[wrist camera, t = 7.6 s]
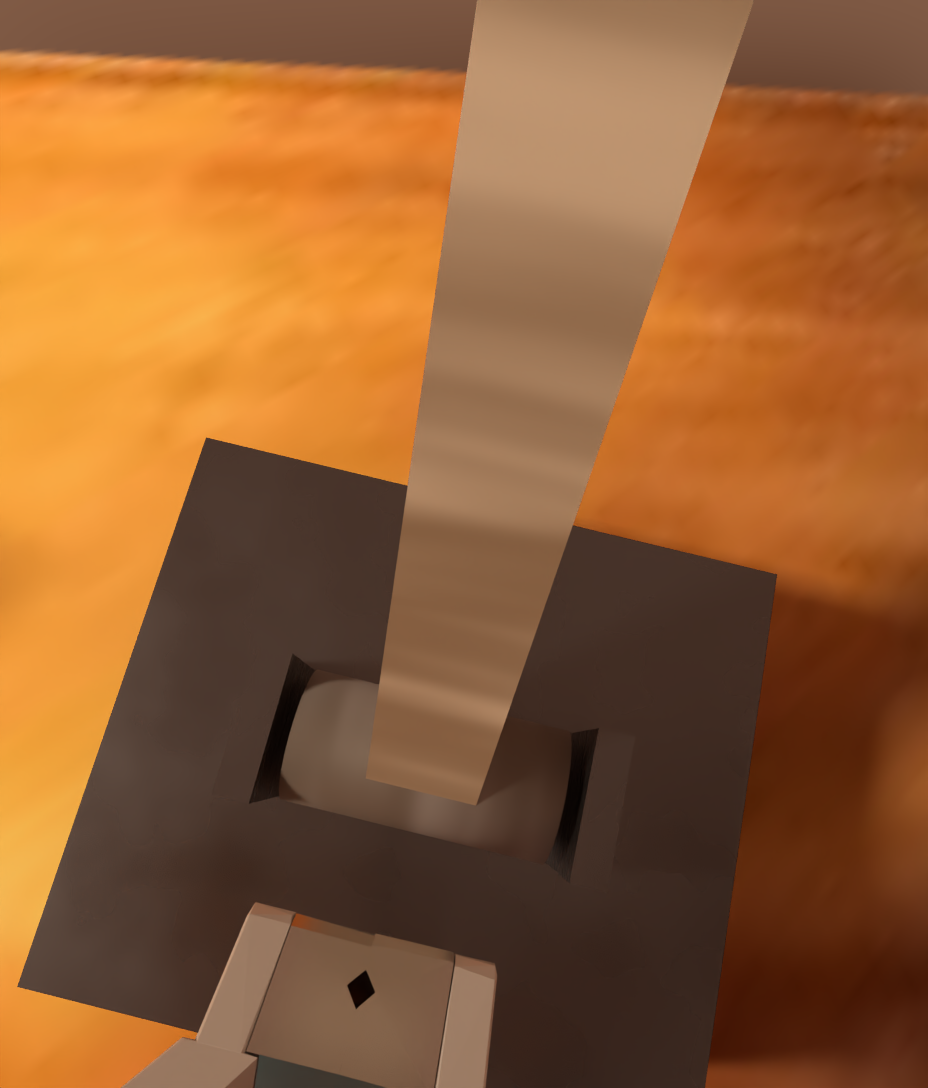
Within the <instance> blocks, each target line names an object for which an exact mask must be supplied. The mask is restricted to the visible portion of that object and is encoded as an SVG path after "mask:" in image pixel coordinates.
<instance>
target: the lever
mask: <svg viewBox="0 0 928 1088" xmlns="http://www.w3.org/2000/svg"><path fill="white" fill-rule="evenodd" d="M753 2H754V0H477V6H476V13H475V20H474V27H473V34H472V41H471V48H470V55H469V62H468V69H467V76H466V83H465V90H464V97H463V104H462V111H461V118H460V125H459V132H458V139H457V145H456V152H455V159H454V166H453V173H452V180H451V187H450V194H449V201H448V208H447V215H446V222H445V229H444V236H443V243H442V250H441V257H440V264H439V271H438V278H437V285H436V292H435V299H434V306H433V313H432V320H431V327H430V334H429V341H428V348H427V355H426V362H425V369H424V376H423V383H422V390H421V397H420V404H419V411H418V418H417V425H416V432H415V439H414V446H413V452H412V459H411V466H410V473H409V480H408V487H407V494H406V501H405V508H404V515H403V522H402V529H401V536H400V543H399V550H398V557H397V564H396V571H395V578H394V585H393V592H392V599H391V606H390V613H389V620H388V627H387V634H386V641H385V648H384V655H383V662H382V669H381V676H380V683H379V684H375V683H371V682H367V681H363V680H359V679H355V678H351V677H347V676H342V675H338V674H334V673H330V672H326V671H322V670H316V671H315V672H314V673H313V674H312V676H311V678H310V680H309V682H308V684H307V686H306V688H305V690H304V693H303V695H302V698H301V700H300V703H299V706H298V709H297V711H296V714H295V718H294V721H293V724H292V727H291V731H290V734H289V738H288V742H287V746H286V750H285V754H284V758H283V763H282V768H281V774H280V781H279V797H280V799H281V800H284V801H288V802H292V803H296V804H300V805H305V806H309V807H313V808H317V809H321V810H325V811H329V812H333V813H337V814H341V815H345V816H349V817H353V818H357V819H361V820H365V821H369V822H373V823H377V824H381V825H385V826H389V827H393V828H397V829H401V830H405V831H409V832H413V833H417V834H421V835H425V836H430V837H434V838H438V839H442V840H446V841H450V842H454V843H458V844H462V845H466V846H470V847H474V848H478V849H482V850H486V851H490V852H494V853H498V854H502V855H506V856H510V857H514V858H518V859H522V860H526V861H530V862H534V863H538V864H542V865H543V864H544V863H545V862H546V860H547V859H548V857H549V855H550V852H551V850H552V847H553V844H554V841H555V838H556V835H557V831H558V828H559V824H560V820H561V816H562V812H563V807H564V802H565V797H566V792H567V786H568V780H569V773H570V764H571V750H572V741H571V734H570V732H569V731H567V730H563V729H559V728H555V727H551V726H547V725H543V724H539V723H535V722H530V721H526V720H522V719H518V718H514V717H510V716H507V714H508V711H509V709H510V706H511V703H512V700H513V697H514V694H515V691H516V688H517V685H518V682H519V680H520V677H521V674H522V671H523V668H524V665H525V662H526V659H527V656H528V653H529V651H530V648H531V645H532V642H533V639H534V636H535V633H536V630H537V627H538V625H539V622H540V619H541V616H542V613H543V610H544V607H545V604H546V601H547V598H548V596H549V593H550V590H551V587H552V584H553V581H554V578H555V575H556V572H557V569H558V567H559V564H560V561H561V558H562V555H563V552H564V549H565V546H566V543H567V541H568V538H569V535H570V532H571V529H572V526H573V523H574V520H575V517H576V514H577V512H578V509H579V506H580V503H581V500H582V497H583V494H584V491H585V488H586V485H587V483H588V480H589V477H590V474H591V471H592V468H593V465H594V462H595V459H596V457H597V454H598V451H599V448H600V445H601V442H602V439H603V436H604V433H605V430H606V428H607V425H608V422H609V419H610V416H611V413H612V410H613V407H614V404H615V401H616V399H617V396H618V393H619V390H620V387H621V384H622V381H623V378H624V375H625V373H626V370H627V367H628V364H629V361H630V358H631V355H632V352H633V349H634V346H635V344H636V341H637V338H638V335H639V332H640V329H641V326H642V323H643V320H644V317H645V315H646V312H647V309H648V306H649V303H650V300H651V297H652V294H653V291H654V289H655V286H656V283H657V280H658V277H659V274H660V271H661V268H662V265H663V262H664V260H665V257H666V254H667V251H668V248H669V245H670V242H671V239H672V236H673V233H674V231H675V228H676V225H677V222H678V219H679V216H680V213H681V210H682V207H683V205H684V202H685V199H686V196H687V193H688V190H689V187H690V184H691V181H692V178H693V176H694V173H695V170H696V167H697V164H698V161H699V158H700V155H701V152H702V149H703V147H704V144H705V141H706V138H707V135H708V132H709V129H710V126H711V123H712V121H713V118H714V115H715V112H716V109H717V106H718V103H719V100H720V97H721V94H722V92H723V89H724V86H725V83H726V80H727V77H728V74H729V71H730V68H731V65H732V63H733V60H734V57H735V54H736V51H737V48H738V45H739V42H740V39H741V37H742V34H743V30H744V28H745V25H746V22H747V19H748V16H749V13H750V10H751V7H752V4H753Z"/></svg>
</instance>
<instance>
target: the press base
mask: <svg viewBox="0 0 928 1088" xmlns="http://www.w3.org/2000/svg"><path fill="white" fill-rule="evenodd" d="M407 487H408V486H406V485H402V484H398V483H393V482H389V481H385V480H381V479H377V478H373V477H368V476H364V475H360V474H356V473H352V472H348V471H343V470H339V469H335V468H331V467H327V466H323V465H318V464H314V463H310V462H306V461H302V460H298V459H293V458H289V457H285V456H281V455H277V454H273V453H268V452H264V451H260V450H256V449H252V448H247V447H243V446H239V445H235V444H231V443H227V442H222V441H218V440H214V439H210V438H206V440H205V443H204V446H203V448H202V451H201V454H200V457H199V460H198V463H197V466H196V469H195V472H194V475H193V478H192V480H191V483H190V486H189V489H188V492H187V495H186V498H185V501H184V504H183V507H182V510H181V512H180V515H179V518H178V521H177V524H176V527H175V530H174V533H173V536H172V539H171V541H170V544H169V547H168V550H167V553H166V556H165V559H164V562H163V565H162V568H161V571H160V573H159V576H158V579H157V582H156V585H155V588H154V591H153V594H152V597H151V600H150V603H149V605H148V608H147V611H146V614H145V617H144V620H143V623H142V626H141V629H140V632H139V635H138V637H137V640H136V643H135V646H134V649H133V652H132V655H131V658H130V661H129V664H128V667H127V669H126V672H125V675H124V678H123V681H122V684H121V687H120V690H119V693H118V696H117V698H116V701H115V704H114V707H113V710H112V713H111V716H110V719H109V722H108V725H107V728H106V730H105V733H104V736H103V739H102V742H101V745H100V748H99V751H98V754H97V757H96V760H95V762H94V765H93V768H92V771H91V774H90V777H89V780H88V783H87V786H86V789H85V792H84V794H83V797H82V800H81V803H80V806H79V809H78V812H77V815H76V818H75V821H74V824H73V826H72V829H71V832H70V835H69V838H68V841H67V844H66V847H65V850H64V853H63V855H62V858H61V861H60V864H59V867H58V870H57V873H56V876H55V879H54V882H53V885H52V887H51V890H50V893H49V896H48V899H47V902H46V905H45V908H44V911H43V914H42V917H41V919H40V922H39V925H38V928H37V931H36V934H35V937H34V940H33V943H32V946H31V949H30V951H29V954H28V957H27V960H26V963H25V966H24V969H23V972H22V975H21V978H20V981H19V983H18V986H17V987H20V988H24V989H28V990H32V991H36V992H40V993H44V994H48V995H52V996H56V997H60V998H64V999H68V1000H72V1001H75V1002H79V1003H83V1004H87V1005H91V1006H95V1007H99V1008H103V1009H107V1010H111V1011H115V1012H119V1013H123V1014H127V1015H131V1016H135V1017H138V1018H142V1019H146V1020H150V1021H154V1022H158V1023H162V1024H166V1025H170V1026H174V1027H178V1028H182V1029H186V1030H190V1031H194V1032H197V1033H198V1032H199V1029H200V1027H201V1024H202V1022H203V1020H204V1017H205V1015H206V1012H207V1010H208V1008H209V1005H210V1003H211V1000H212V998H213V996H214V993H215V991H216V988H217V986H218V984H219V981H220V979H221V977H222V974H223V972H224V969H225V967H226V965H227V962H228V960H229V957H230V955H231V953H232V950H233V948H234V945H235V943H236V941H237V938H238V936H239V933H240V931H241V929H242V926H243V924H244V921H245V919H246V917H247V915H248V913H249V912H250V910H251V909H252V907H253V905H254V904H255V902H257V903H261V904H265V905H269V906H273V907H277V908H281V909H285V910H289V911H293V912H296V913H297V914H301V915H305V916H309V917H312V918H316V919H320V920H324V921H327V922H331V923H335V924H339V925H343V926H346V927H350V928H354V929H358V930H362V931H365V932H369V933H373V934H375V933H376V934H380V935H384V936H388V937H393V938H397V939H401V940H405V941H409V942H413V943H418V944H422V945H426V946H430V947H434V948H439V949H443V950H447V951H451V952H454V954H458V955H462V956H467V957H471V958H475V959H479V960H483V961H487V962H491V963H495V967H496V972H497V983H496V992H495V1002H494V1011H493V1021H492V1030H491V1040H490V1050H489V1059H488V1069H487V1078H486V1088H705V1082H706V1075H707V1068H708V1061H709V1054H710V1047H711V1040H712V1033H713V1025H714V1018H715V1011H716V1004H717V997H718V990H719V983H720V976H721V969H722V962H723V954H724V947H725V940H726V933H727V926H728V919H729V912H730V905H731V898H732V890H733V883H734V876H735V869H736V862H737V855H738V848H739V841H740V834H741V827H742V819H743V812H744V805H745V798H746V791H747V784H748V777H749V770H750V763H751V755H752V748H753V741H754V734H755V727H756V720H757V713H758V706H759V699H760V692H761V684H762V677H763V670H764V663H765V656H766V649H767V642H768V635H769V628H770V620H771V613H772V606H773V599H774V592H775V585H776V578H777V574H773V573H769V572H765V571H760V570H756V569H752V568H748V567H744V566H740V565H735V564H731V563H727V562H723V561H719V560H715V559H710V558H706V557H702V556H698V555H694V554H690V553H685V552H681V551H677V550H673V549H669V548H665V547H660V546H656V545H652V544H648V543H644V542H640V541H635V540H631V539H627V538H623V537H619V536H614V535H610V534H606V533H602V532H598V531H594V530H589V529H585V528H581V527H577V526H572V529H571V532H570V535H569V538H568V541H567V543H566V546H565V549H564V552H563V555H562V558H561V561H560V564H559V567H558V569H557V572H556V575H555V578H554V581H553V584H552V587H551V590H550V593H549V596H548V598H547V601H546V604H545V607H544V610H543V613H542V616H541V619H540V622H539V625H538V627H537V630H536V633H535V636H534V639H533V642H532V645H531V648H530V651H529V653H528V656H527V659H526V662H525V665H524V668H523V671H522V674H521V677H520V680H519V682H518V685H517V688H516V691H515V694H514V697H513V700H512V703H511V706H510V709H509V711H508V714H507V716H510V717H514V718H518V719H522V720H526V721H530V722H535V723H539V724H543V725H547V726H551V727H555V728H559V729H563V730H567V731H569V732H570V734H571V741H572V750H571V764H570V773H569V780H568V786H567V792H566V797H565V802H564V807H563V812H562V816H561V820H560V824H559V828H558V831H557V835H556V838H555V841H554V844H553V847H552V850H551V852H550V855H549V857H548V859H547V860H546V862H545V863H544V864H543V865H542V864H538V863H534V862H530V861H526V860H522V859H518V858H514V857H510V856H506V855H502V854H498V853H494V852H490V851H486V850H482V849H478V848H474V847H470V846H466V845H462V844H458V843H454V842H450V841H446V840H442V839H438V838H434V837H430V836H425V835H421V834H417V833H413V832H409V831H405V830H401V829H397V828H393V827H389V826H385V825H381V824H377V823H373V822H369V821H365V820H361V819H357V818H353V817H349V816H345V815H341V814H337V813H333V812H329V811H325V810H321V809H317V808H313V807H309V806H305V805H300V804H296V803H292V802H288V801H284V800H281V799H280V797H279V781H280V774H281V768H282V763H283V758H284V754H285V750H286V746H287V742H288V738H289V734H290V731H291V727H292V724H293V721H294V718H295V714H296V711H297V709H298V706H299V703H300V700H301V698H302V695H303V693H304V690H305V688H306V686H307V684H308V682H309V680H310V678H311V676H312V674H313V673H314V672H315V671H316V670H322V671H326V672H330V673H334V674H338V675H342V676H347V677H351V678H355V679H359V680H363V681H367V682H371V683H375V684H379V683H380V676H381V669H382V662H383V655H384V648H385V641H386V634H387V627H388V620H389V613H390V606H391V599H392V592H393V585H394V578H395V571H396V564H397V557H398V550H399V543H400V536H401V529H402V522H403V515H404V508H405V501H406V494H407Z"/></svg>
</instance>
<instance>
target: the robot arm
mask: <svg viewBox="0 0 928 1088" xmlns="http://www.w3.org/2000/svg"><path fill="white" fill-rule="evenodd" d="M496 983H497V972H496V967H495V963H491V962H487V961H483V960H479V959H475V958H471V957H467V956H462V955H458V954H454V952H451V951H447V950H443V949H439V948H434V947H430V946H426V945H422V944H418V943H413V942H409V941H405V940H401V939H397V938H393V937H388V936H384V935H380V934H376V933H375V934H373V933H369V932H365V931H362V930H358V929H354V928H350V927H346V926H343V925H339V924H335V923H331V922H327V921H324V920H320V919H316V918H312V917H309V916H305V915H301V914H297V913H296V912H293V911H289V910H285V909H281V908H277V907H273V906H269V905H265V904H261V903H257V902H255V904H254V905H253V907H252V909H251V910H250V912H249V913H248V915H247V917H246V919H245V921H244V924H243V926H242V929H241V931H240V933H239V936H238V938H237V941H236V943H235V945H234V948H233V950H232V953H231V955H230V957H229V960H228V962H227V965H226V967H225V969H224V972H223V974H222V977H221V979H220V981H219V984H218V986H217V988H216V991H215V993H214V996H213V998H212V1000H211V1003H210V1005H209V1008H208V1010H207V1012H206V1015H205V1017H204V1020H203V1022H202V1024H201V1027H200V1029H199V1032H198V1034H197V1036H196V1039H195V1040H194V1039H189V1038H184V1037H182V1038H181V1039H180V1040H178V1041H177V1042H176V1043H175V1044H173V1045H172V1046H171V1047H170V1048H169V1049H167V1050H166V1051H165V1052H164V1053H163V1054H161V1055H160V1056H159V1057H158V1058H156V1059H155V1060H154V1061H153V1062H152V1063H150V1064H149V1065H148V1066H147V1067H145V1068H144V1069H143V1070H142V1071H141V1072H139V1073H138V1074H137V1075H136V1076H135V1077H133V1078H132V1079H131V1080H130V1081H128V1082H127V1083H126V1084H125V1085H124V1086H122V1087H121V1088H486V1078H487V1069H488V1059H489V1050H490V1040H491V1030H492V1021H493V1011H494V1002H495V992H496Z"/></svg>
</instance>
